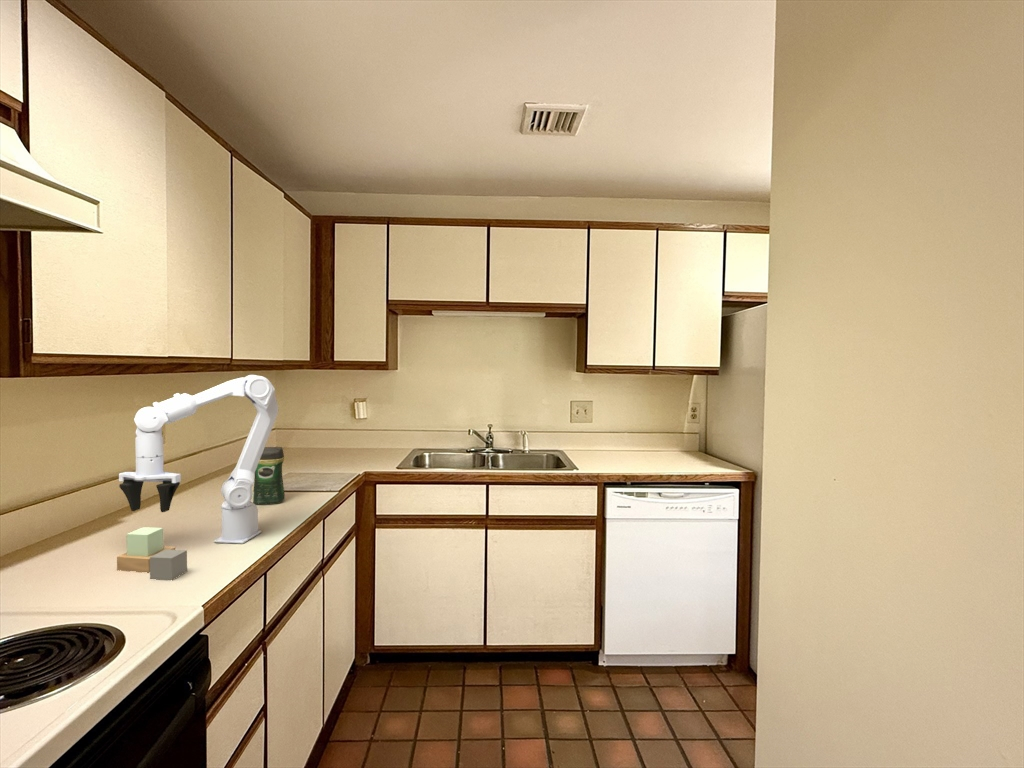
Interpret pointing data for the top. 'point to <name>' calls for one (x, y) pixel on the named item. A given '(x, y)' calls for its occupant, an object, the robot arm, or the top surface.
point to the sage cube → (144, 541)
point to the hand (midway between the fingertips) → (150, 510)
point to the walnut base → (136, 562)
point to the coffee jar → (269, 477)
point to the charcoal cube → (168, 564)
